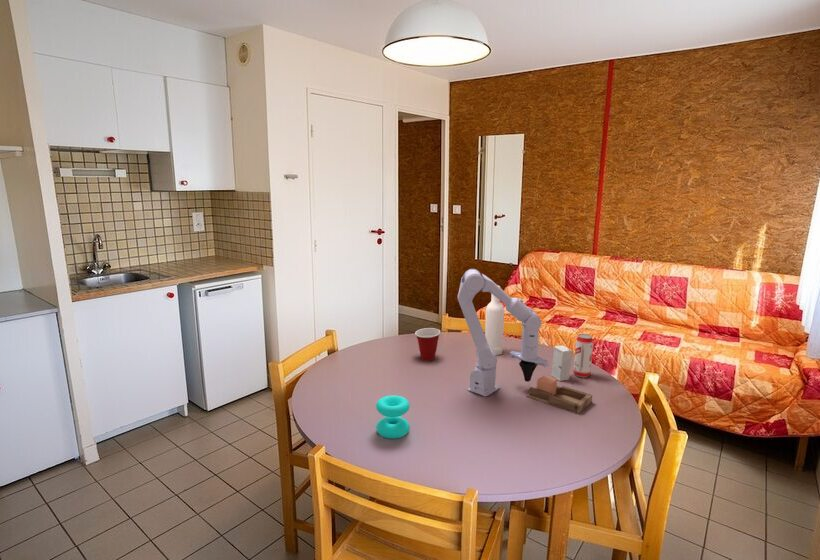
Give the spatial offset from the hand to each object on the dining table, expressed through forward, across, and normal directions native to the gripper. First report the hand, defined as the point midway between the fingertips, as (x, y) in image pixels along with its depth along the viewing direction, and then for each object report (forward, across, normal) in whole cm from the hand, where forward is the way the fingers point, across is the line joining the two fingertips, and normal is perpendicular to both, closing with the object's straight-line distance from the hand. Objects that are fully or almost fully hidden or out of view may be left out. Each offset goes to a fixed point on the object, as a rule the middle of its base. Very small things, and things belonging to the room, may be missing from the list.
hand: (527, 380), depth 171 cm
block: (+3, -7, 0) cm, 8 cm away
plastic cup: (+4, +47, +1) cm, 47 cm away
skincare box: (+4, -4, -18) cm, 19 cm away
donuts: (+4, +16, +54) cm, 56 cm away
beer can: (+4, -10, -26) cm, 28 cm away
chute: (+3, -12, 0) cm, 12 cm away
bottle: (+4, +30, -24) cm, 38 cm away
